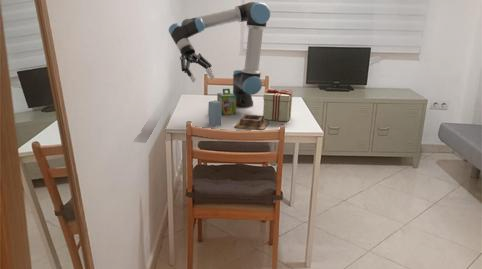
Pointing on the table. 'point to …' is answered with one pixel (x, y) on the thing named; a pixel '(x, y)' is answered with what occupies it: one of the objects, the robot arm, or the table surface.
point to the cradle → (252, 122)
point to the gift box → (277, 104)
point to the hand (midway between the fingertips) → (203, 79)
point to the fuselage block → (214, 113)
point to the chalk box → (227, 102)
